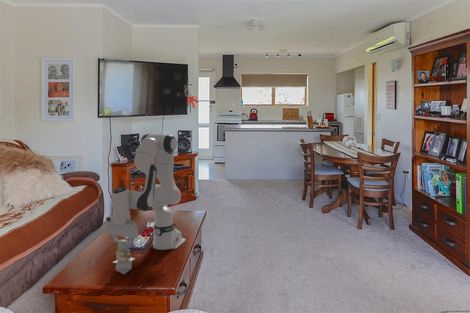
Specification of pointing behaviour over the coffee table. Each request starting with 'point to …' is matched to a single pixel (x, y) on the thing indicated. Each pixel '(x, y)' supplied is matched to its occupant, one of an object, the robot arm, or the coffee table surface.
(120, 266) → the die
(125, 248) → the pale green rounded lump
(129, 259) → the plan card
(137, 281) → the coffee table surface
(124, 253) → the birch block
